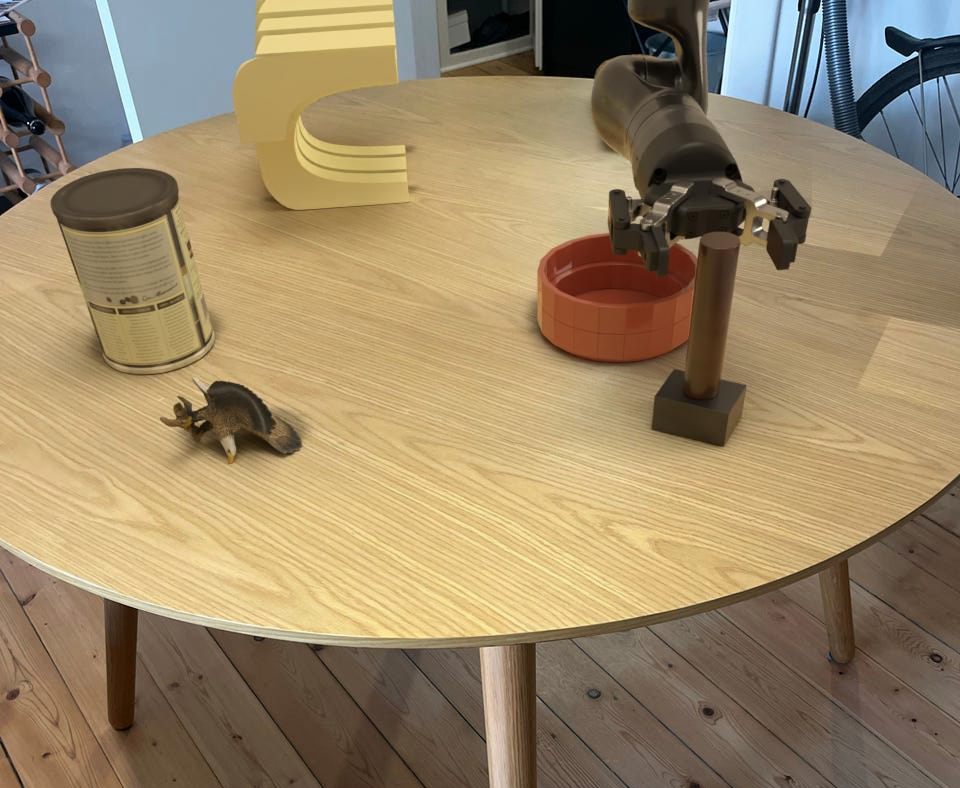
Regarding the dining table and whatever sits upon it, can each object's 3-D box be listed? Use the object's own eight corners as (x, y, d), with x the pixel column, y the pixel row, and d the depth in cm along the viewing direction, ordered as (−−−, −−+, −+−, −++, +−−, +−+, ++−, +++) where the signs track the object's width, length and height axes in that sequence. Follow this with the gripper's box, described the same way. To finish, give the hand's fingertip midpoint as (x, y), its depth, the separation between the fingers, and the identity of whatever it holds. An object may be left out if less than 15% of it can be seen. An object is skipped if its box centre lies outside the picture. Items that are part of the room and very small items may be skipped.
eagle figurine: (169, 472, 78) (279, 454, 76) (149, 377, 77) (260, 357, 75) (212, 466, 85) (313, 450, 84) (194, 380, 84) (296, 361, 82)
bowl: (716, 305, 95) (723, 248, 91) (662, 380, 86) (667, 320, 82) (576, 278, 100) (577, 222, 96) (512, 346, 91) (510, 288, 87)
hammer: (741, 417, 82) (772, 234, 71) (723, 447, 79) (752, 260, 69) (670, 400, 84) (689, 220, 74) (651, 429, 81) (667, 245, 71)
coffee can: (85, 343, 95) (31, 190, 85) (186, 307, 99) (146, 157, 89) (130, 388, 89) (77, 229, 79) (235, 348, 93) (198, 192, 83)
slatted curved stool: (278, 141, 129) (250, -22, 117) (404, 132, 130) (390, -31, 117) (261, 245, 108) (224, 59, 95) (411, 234, 109) (394, 47, 96)
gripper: (595, 126, 80) (626, 213, 68) (778, 115, 80) (838, 200, 68) (592, 222, 85) (620, 317, 73) (763, 211, 85) (817, 305, 73)
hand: (725, 261), depth 71 cm, fingers open, 8 cm apart
